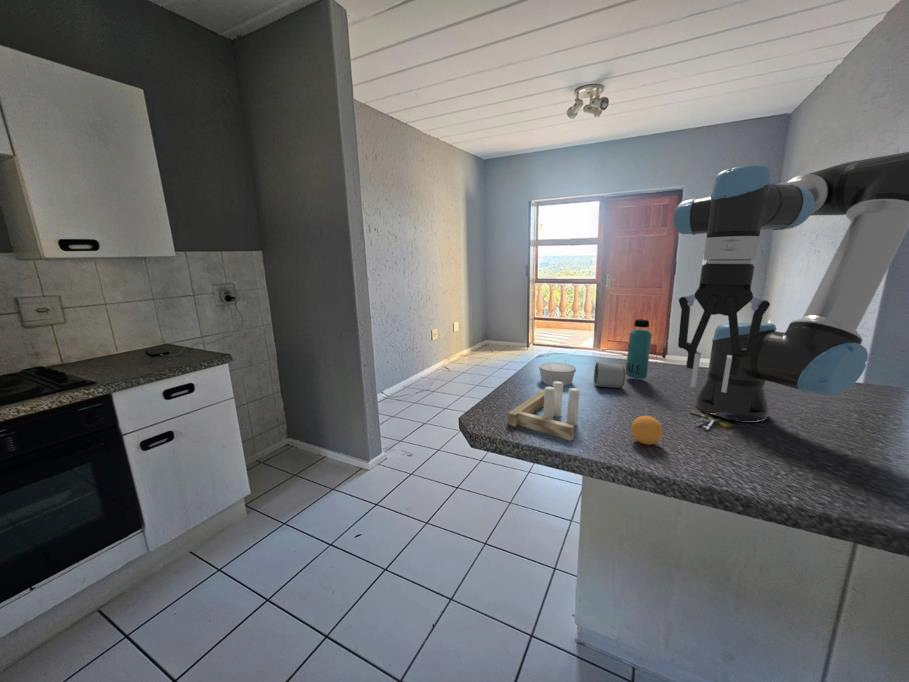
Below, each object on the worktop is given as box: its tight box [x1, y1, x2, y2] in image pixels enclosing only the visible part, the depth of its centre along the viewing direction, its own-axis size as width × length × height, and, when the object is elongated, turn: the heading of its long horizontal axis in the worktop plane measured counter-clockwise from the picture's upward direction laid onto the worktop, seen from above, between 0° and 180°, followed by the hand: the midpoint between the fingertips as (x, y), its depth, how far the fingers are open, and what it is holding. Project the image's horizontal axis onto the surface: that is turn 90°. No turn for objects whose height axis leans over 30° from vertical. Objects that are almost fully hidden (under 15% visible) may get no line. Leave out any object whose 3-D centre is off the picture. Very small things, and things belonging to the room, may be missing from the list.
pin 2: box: [552, 381, 564, 418], centre depth 92 cm, size 2×2×8 cm
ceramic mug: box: [593, 361, 626, 389], centre depth 114 cm, size 11×8×8 cm
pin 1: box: [542, 386, 555, 420], centre depth 88 cm, size 2×2×8 cm
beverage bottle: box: [625, 318, 652, 380], centre depth 117 cm, size 6×7×20 cm
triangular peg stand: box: [507, 389, 575, 442], centre depth 91 cm, size 15×20×3 cm
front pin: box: [566, 387, 581, 426], centre depth 87 cm, size 2×2×8 cm
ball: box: [630, 415, 664, 446], centre depth 78 cm, size 6×6×6 cm
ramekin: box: [538, 361, 577, 387], centre depth 118 cm, size 11×11×5 cm
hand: (708, 387), depth 70 cm, fingers open, 4 cm apart
